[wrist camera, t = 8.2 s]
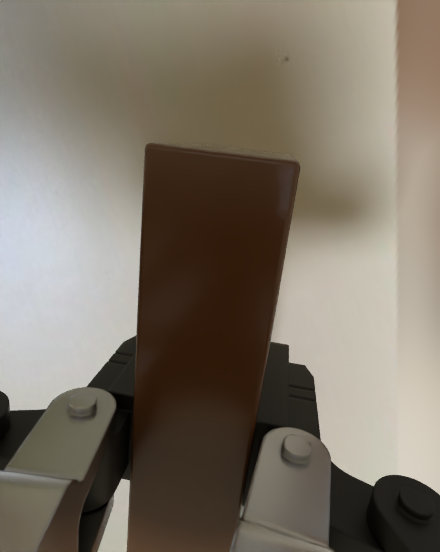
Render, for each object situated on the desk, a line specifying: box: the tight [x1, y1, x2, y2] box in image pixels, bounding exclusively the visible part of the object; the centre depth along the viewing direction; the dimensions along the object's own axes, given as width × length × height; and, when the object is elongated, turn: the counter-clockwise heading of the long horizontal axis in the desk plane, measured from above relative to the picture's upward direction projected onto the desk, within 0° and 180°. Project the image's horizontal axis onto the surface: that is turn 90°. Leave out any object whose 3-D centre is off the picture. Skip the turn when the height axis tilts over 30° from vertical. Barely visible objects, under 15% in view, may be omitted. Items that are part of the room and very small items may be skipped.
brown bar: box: [127, 143, 300, 552], centre depth 11 cm, size 18×3×4 cm, turn 174°
